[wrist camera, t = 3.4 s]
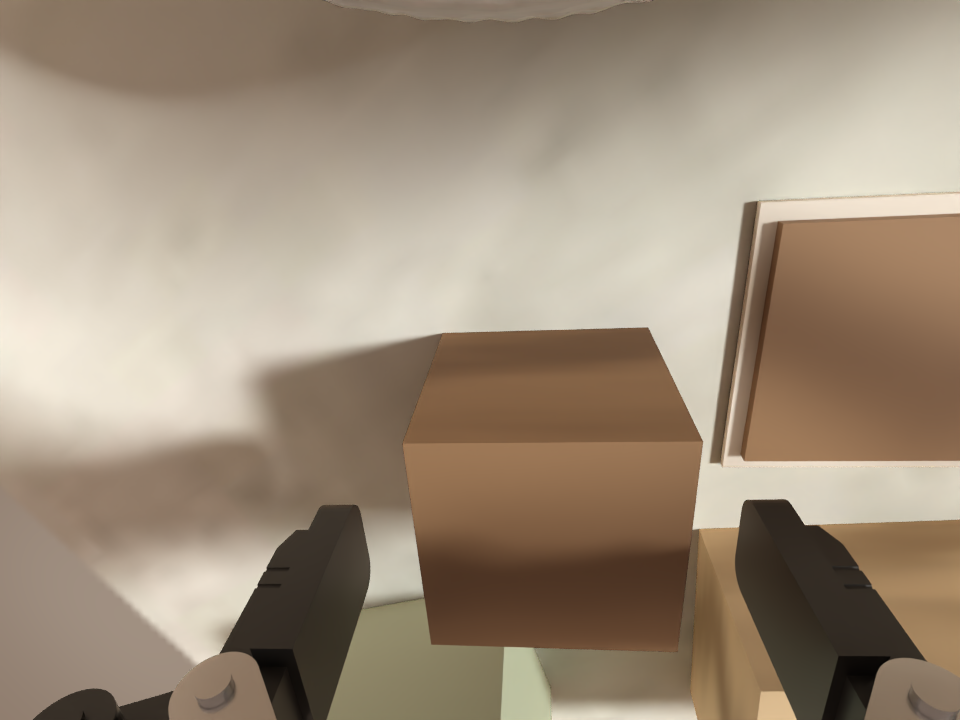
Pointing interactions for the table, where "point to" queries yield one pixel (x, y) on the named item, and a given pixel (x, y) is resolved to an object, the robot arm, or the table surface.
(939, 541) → the oak base block
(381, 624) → the sage cube
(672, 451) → the walnut cube
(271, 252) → the table surface
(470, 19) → the cereal bowl
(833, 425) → the walnut swatch
